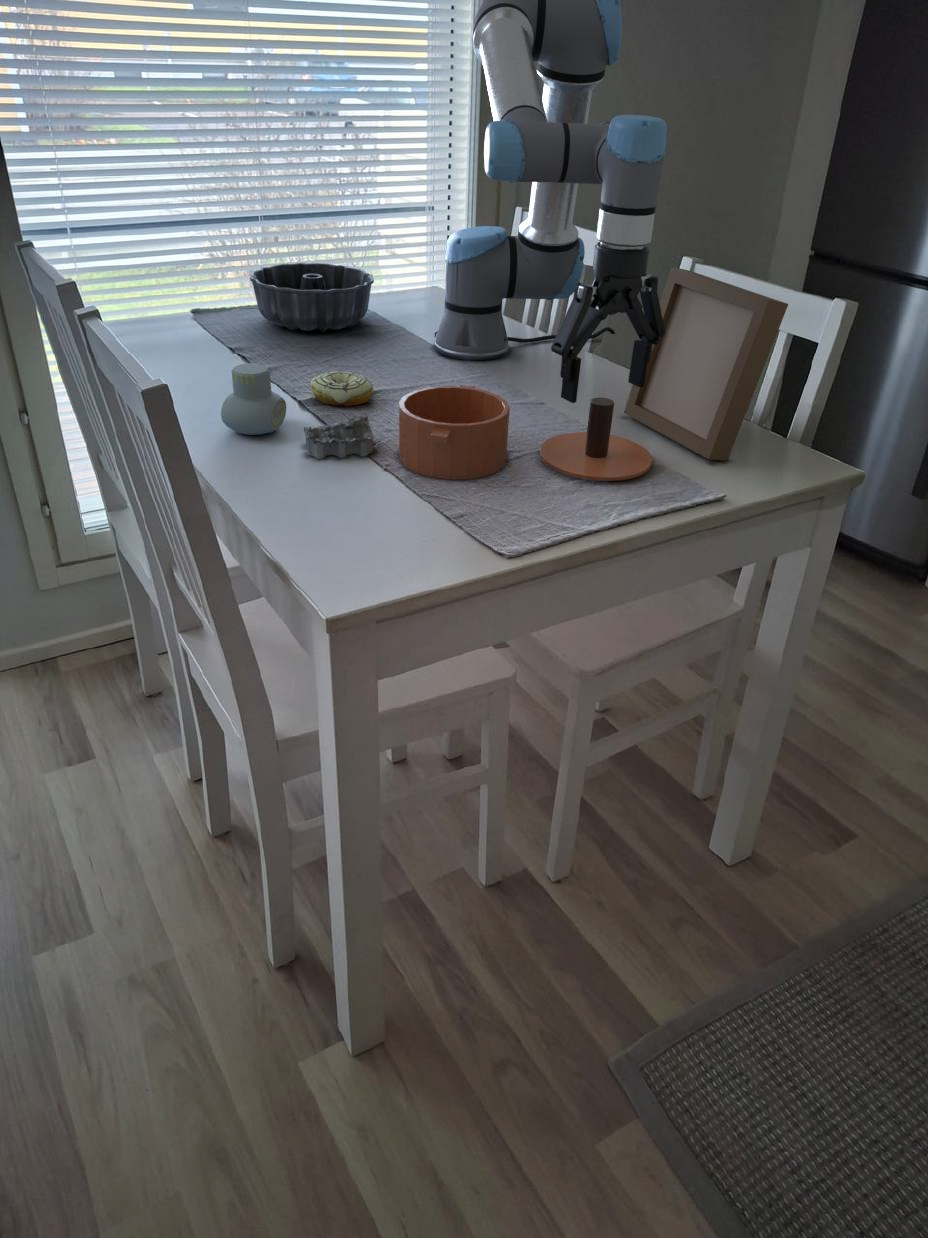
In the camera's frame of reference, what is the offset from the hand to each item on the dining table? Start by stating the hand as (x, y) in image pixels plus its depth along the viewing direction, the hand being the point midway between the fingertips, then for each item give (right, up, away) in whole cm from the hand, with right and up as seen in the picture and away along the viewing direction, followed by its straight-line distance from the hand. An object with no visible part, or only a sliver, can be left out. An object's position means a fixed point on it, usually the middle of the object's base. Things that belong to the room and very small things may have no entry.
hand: (602, 392), depth 137 cm
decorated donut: (-43, +5, +24) cm, 49 cm away
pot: (-23, -9, +5) cm, 25 cm away
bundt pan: (-54, +31, +63) cm, 89 cm away
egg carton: (-41, -8, +5) cm, 42 cm away
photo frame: (+19, -3, +17) cm, 25 cm away
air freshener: (-55, -3, +11) cm, 56 cm away
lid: (0, -9, +5) cm, 10 cm away
